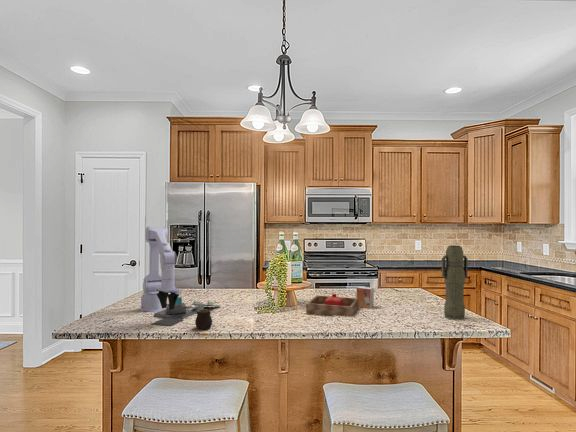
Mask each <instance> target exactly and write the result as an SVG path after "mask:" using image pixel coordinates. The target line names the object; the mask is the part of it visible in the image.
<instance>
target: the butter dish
mask: <svg viewBox="0 0 576 432" xmlns="http://www.w3.org/2000/svg"><path fill="white" fill-rule="evenodd" d="M340 297H341V296H337V293H331V297H328V298H326V300H325V303H324V305H337V306H344V301H343V299H342V298H340Z"/></svg>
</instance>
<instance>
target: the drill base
mask: <svg viewBox="0 0 576 432" xmlns="http://www.w3.org/2000/svg"><path fill="white" fill-rule="evenodd" d="M196 310H197V309H195V310H194V309H186V313H177V314H166V310H165V309H163V310H160V311H157V312H153V317H154V318H155V317H156V318H162V319H164V318H170V319H179V320H184V319H187V318H190V317H192V316H194V315H196V314H197V311H196ZM189 316H190V317H189Z"/></svg>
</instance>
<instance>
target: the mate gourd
mask: <svg viewBox="0 0 576 432" xmlns="http://www.w3.org/2000/svg"><path fill="white" fill-rule="evenodd" d="M213 307H214V306H210V308H209V309H207V308H204V309H200V310H198V311H197V316H196V318H195V320H194V321H195V327H196V329H197V330H200V331H204V330H208V329H209V330H210V328H211V327H212V324H213V318H212V316H211V309H212V308H213Z"/></svg>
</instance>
